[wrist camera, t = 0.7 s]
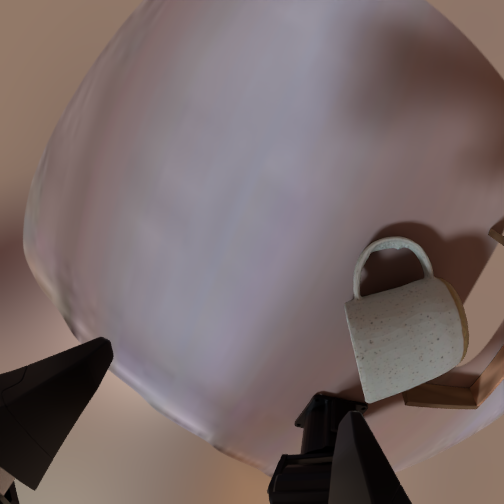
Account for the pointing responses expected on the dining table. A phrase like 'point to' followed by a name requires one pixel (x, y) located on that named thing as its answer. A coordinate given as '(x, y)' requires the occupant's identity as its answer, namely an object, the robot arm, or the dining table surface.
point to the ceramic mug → (405, 328)
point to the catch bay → (457, 396)
